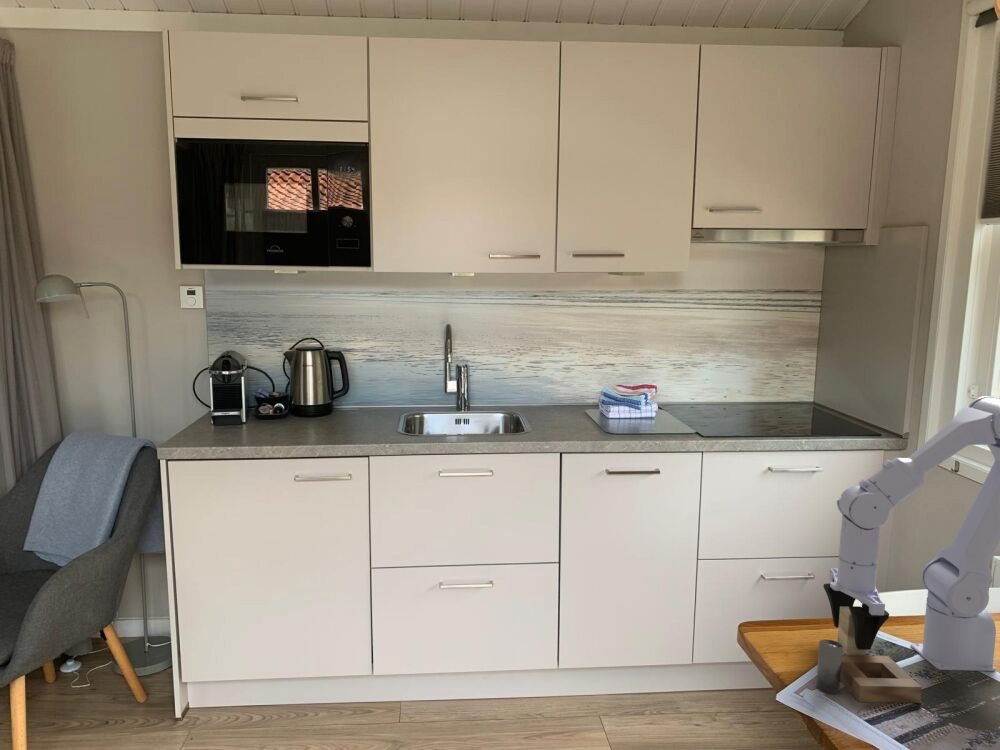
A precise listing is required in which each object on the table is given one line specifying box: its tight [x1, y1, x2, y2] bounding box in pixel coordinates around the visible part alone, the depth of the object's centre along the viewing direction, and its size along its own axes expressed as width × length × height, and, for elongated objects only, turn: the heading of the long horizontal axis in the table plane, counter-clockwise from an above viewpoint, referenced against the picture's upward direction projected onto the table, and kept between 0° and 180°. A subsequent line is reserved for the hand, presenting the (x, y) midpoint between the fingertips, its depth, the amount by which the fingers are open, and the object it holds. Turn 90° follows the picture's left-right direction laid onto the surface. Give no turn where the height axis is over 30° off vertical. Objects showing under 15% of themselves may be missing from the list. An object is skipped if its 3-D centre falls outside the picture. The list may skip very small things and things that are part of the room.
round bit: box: [815, 639, 843, 695], centre depth 106 cm, size 3×3×7 cm
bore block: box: [840, 654, 923, 704], centre depth 107 cm, size 9×9×2 cm
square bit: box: [837, 607, 867, 655], centre depth 118 cm, size 3×3×7 cm
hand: (851, 637), depth 118 cm, fingers open, 7 cm apart
